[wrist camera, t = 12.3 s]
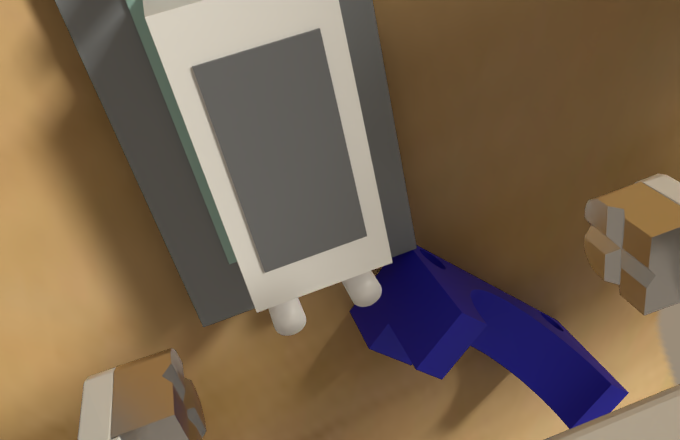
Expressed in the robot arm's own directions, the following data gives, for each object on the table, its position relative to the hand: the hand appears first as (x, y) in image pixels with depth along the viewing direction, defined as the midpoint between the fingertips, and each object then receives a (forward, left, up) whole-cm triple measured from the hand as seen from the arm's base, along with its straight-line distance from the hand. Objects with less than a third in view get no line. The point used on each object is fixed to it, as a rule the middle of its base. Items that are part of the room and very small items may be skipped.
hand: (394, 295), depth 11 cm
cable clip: (-7, +15, -14) cm, 22 cm away
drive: (0, 0, -12) cm, 12 cm away
